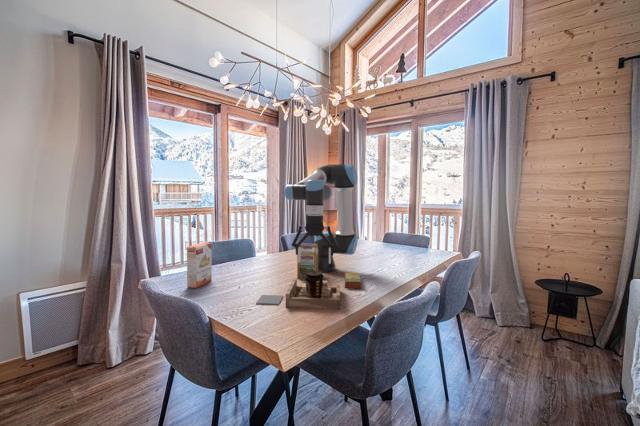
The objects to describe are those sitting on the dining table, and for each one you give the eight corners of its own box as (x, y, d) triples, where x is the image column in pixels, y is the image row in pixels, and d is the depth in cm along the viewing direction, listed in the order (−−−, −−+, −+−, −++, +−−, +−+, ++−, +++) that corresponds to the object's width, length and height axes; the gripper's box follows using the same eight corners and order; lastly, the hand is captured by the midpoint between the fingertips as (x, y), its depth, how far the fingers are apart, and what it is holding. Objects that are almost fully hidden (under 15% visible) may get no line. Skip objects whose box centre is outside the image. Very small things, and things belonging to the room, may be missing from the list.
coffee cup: (313, 296, 143) (313, 269, 142) (327, 300, 138) (327, 272, 136) (300, 301, 136) (301, 273, 135) (315, 306, 131) (315, 276, 130)
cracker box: (197, 288, 152) (196, 247, 151) (186, 287, 154) (185, 247, 152) (212, 280, 166) (211, 242, 164) (202, 279, 167) (201, 242, 166)
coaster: (262, 296, 142) (262, 294, 142) (283, 296, 142) (283, 295, 142) (256, 304, 133) (256, 302, 132) (278, 305, 132) (278, 303, 132)
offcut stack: (302, 291, 149) (302, 279, 149) (330, 292, 148) (330, 280, 148) (300, 295, 144) (300, 283, 144) (330, 295, 143) (330, 283, 143)
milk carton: (318, 273, 180) (318, 242, 178) (316, 279, 169) (316, 245, 168) (300, 273, 181) (300, 241, 179) (297, 278, 170) (297, 245, 169)
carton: (359, 280, 169) (359, 272, 169) (361, 289, 153) (361, 281, 153) (344, 279, 170) (344, 272, 169) (344, 289, 154) (344, 281, 153)
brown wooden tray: (293, 289, 152) (293, 278, 151) (340, 291, 150) (340, 279, 149) (285, 307, 129) (285, 293, 129) (339, 309, 128) (339, 295, 127)
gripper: (285, 215, 131) (285, 263, 132) (343, 216, 129) (342, 265, 131) (288, 213, 138) (288, 259, 140) (343, 214, 136) (342, 261, 138)
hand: (314, 262), depth 135 cm, fingers open, 13 cm apart
